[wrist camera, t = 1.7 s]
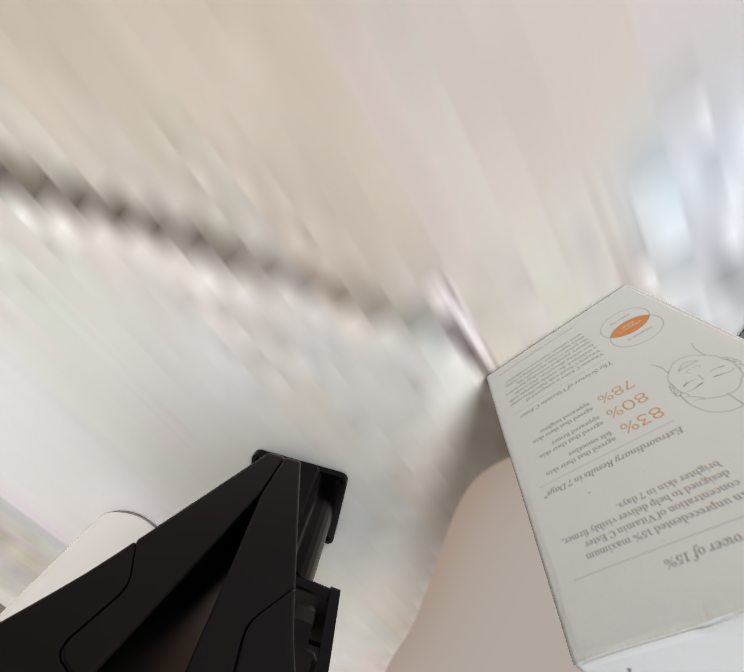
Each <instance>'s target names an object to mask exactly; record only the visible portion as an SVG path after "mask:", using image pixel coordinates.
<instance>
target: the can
mask: <svg viewBox="0 0 744 672" xmlns="http://www.w3.org/2000/svg"><path fill="white" fill-rule="evenodd" d="M154 528H156V526H155V525H154V524H153V523H152V522H150V521H149V520H147V519H146V518H144V517H142V516H140V515H138V514H136V513H132V512H128V511H113V512H109V513H105V514H103V515H101V516H100V517H99V518H98V519H97V520H96V521H95V522H94V523H92V524H91V525H90V526H89V527H88V528H87V529H86V530H85V531H84V532H83V533H82V534H81V535H80V536H79V537H78V538H77V539H76V540H75V541H74V542H73V543H72V544H71V545H70V546H69V547H68V548H67V549H66V550H65V551H64V552H63V553H62V554H61V555H60V556H59V557H58V558H57V559H56V560H55V561H54V562H53V563H51V564H50V565H49V566H48V567H47V568H46V569H45V570H44V571H43V572H42V573H41V574H40V575H39V576H38V577H37V578H36V579H35V580H34V581H33V582H32V583H31V584H30V585H29V586H28V587H27V588H26V589H25V590H24V591H23V592H22V593H21V594H20V595H19V596H18V597H17V598H16V599H15V600H14V601H13V602H12V603H11V604H10V605H9V606H8V607H7V608H6V609H5V610H4V611H3V612H2V613H1V614H0V622H1V621H3V620H4V619H6V618H8V617H10V616H12V615H13V614H15V613H17V612H19V611H21V610H22V609H24V608H26V607H28V606H29V605H31V604H33V603H35V602H37V601H38V600H40V599H42V598H44V597H45V596H47V595H49V594H51V593H52V592H54V591H56V590H58V589H59V588H61V587H63V586H64V585H66V584H68V583H70V582H71V581H73V580H75V579H76V578H78V577H80V576H82V575H83V574H85V573H87V572H88V571H90V570H91V569H93V568H94V567H96V566H98V565H99V564H101V563H102V562H104V561H105V560H107V559H109V558H110V557H112V556H113V555H115V554H116V553H118V552H119V551H121V550H122V549H124V548H126V547H127V546H129V545H130V544H132V543H133V542H134V543H136V542H137V540H138V539H139V538H141V537H142V536H144V535H145V534H147V533H148V532H150V531H151V530H153V529H154Z"/></svg>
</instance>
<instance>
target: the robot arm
mask: <svg viewBox="0 0 744 672" xmlns="http://www.w3.org/2000/svg"><path fill="white" fill-rule="evenodd" d="M259 457H261V458H259ZM339 480H341V481H339ZM347 481H348V477H347V475H345V474H344V473H342V472H339V471H335V470H331V469H328V468H324V467H321V466H317V465H314V464H310V463H307V462H303V461H299V460H296V459H292V458H289V457H285V456H282V455H278V454H275V453H271V452H267V451H264V450H257V451H256V452H255V453H254V455H253V456H252V463H251V465H250V466H248V467H247V468H245V469H243V470H242V471H240V472H239V473H237V474H236V475H234V476H233V477H231V478H230V479H228V480H227V481H225V482H224V483H222V484H221V485H219V486H218V487H216V488H215V489H213V490H212V491H210V492H209V493H207V494H206V495H204V496H203V497H201V498H200V499H198V500H197V501H195V502H194V503H192V504H191V505H189V506H188V507H186V508H185V509H183V510H182V511H180V512H179V513H177V514H176V515H174V516H173V517H171V518H170V519H168V520H167V521H165V522H164V523H162V524H160V525H159V526H157V527H156V528H154V529H153V530H151V531H150V532H148V533H147V534H145V535H144V536H142V537H141V538H139V539H138V540H137V542H136V543H134V542H133V543H132V544H130V545H129V546H127V547H126V548H124V549H122V550H121V551H119V552H118V553H116V554H115V555H113V556H112V557H110V558H109V559H107V560H105V561H104V562H102V563H101V564H99V565H98V566H96V567H94V568H93V569H91V570H90V571H88V572H87V573H85V574H83V575H82V576H80V577H78V578H76V579H75V580H73V581H71V582H70V583H68V584H66V585H64V586H63V587H61V588H59V589H58V590H56V591H54V592H52V593H51V594H49V595H47V596H45V597H44V598H42V599H40V600H38V601H37V602H35V603H33V604H31V605H29V606H28V607H26V608H24V609H22V610H21V611H19V612H17V613H15V614H13V615H12V616H10V617H8V618H6V619H4V620H3V621H1V622H0V672H328V670H329V664H330V658H331V651H332V644H333V637H334V631H335V624H336V617H337V610H338V604H339V597H340V590H339V589H336V588H334V587H330V588H328V587H326V586H323V585H321V584H318V583H316V582H313V579H314V576H315V573H316V570H317V566H318V563H319V560H320V556H321V553H322V550H323V546H324V543H327V544H329V543H332V541H333V539H334V535H335V531H336V527H337V523H338V519H339V515H340V510H341V506H342V502H343V498H344V494H345V490H346V486H347Z"/></svg>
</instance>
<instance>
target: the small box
mask: <svg viewBox="0 0 744 672" xmlns="http://www.w3.org/2000/svg"><path fill="white" fill-rule="evenodd" d="M487 381H488V385H489V388H490V392H491V395H492V398H493V401H494V405H495V409H496V412H497V416H498V419H499V423H500V426H501V429H502V433H503V436H504V439H505V442H506V446H507V449H508V452H509V455H510V458H511V462H512V465H513V468H514V471H515V474H516V477H517V481H518V484H519V487H520V490H521V493H522V497H523V500H524V503H525V506H526V510H527V513H528V516H529V520H530V523H531V526H532V530H533V533H534V536H535V540H536V543H537V546H538V550H539V553H540V556H541V560H542V563H543V566H544V570H545V573H546V576H547V579H548V583H549V586H550V589H551V592H552V596H553V599H554V603H555V606H556V609H557V612H558V616H559V619H560V622H561V625H562V629H563V632H564V635H565V638H566V642H567V645H568V648H569V652H570V655H571V658H572V661H573V663H574V665H576V667H578V668H579V669H580V670H581V671H582V672H744V339H743V338H741V337H738V336H736V335H734V334H732V333H730V332H728V331H726V330H724V329H722V328H720V327H718V326H716V325H714V324H712V323H710V322H708V321H705V320H703V319H701V318H699V317H696V316H694V315H692V314H690V313H688V312H686V311H684V310H682V309H680V308H678V307H675V306H673V305H671V304H669V303H667V302H665V301H662V300H660V299H658V298H656V297H654V296H652V295H649V294H647V293H645V292H643V291H641V290H638V289H636V288H634V287H632V286H629V285H625V286H623V287H621V288H620V289H618V290H617V291H615V292H614V293H612V294H611V295H609V296H608V297H606V298H605V299H603V300H602V301H600V302H599V303H597V304H596V305H594V306H593V307H591V308H589V309H588V310H586V311H585V312H583V313H582V314H580V315H579V316H577V317H576V318H574V319H573V320H571V321H570V322H568V323H567V324H565V325H564V326H562V327H561V328H559V329H558V330H556V331H555V332H553V333H551V334H550V335H548V336H547V337H545V338H544V339H542V340H541V341H539V342H538V343H536V344H535V345H533V346H532V347H530V348H529V349H527V350H526V351H525V352H523V353H522V354H520V355H519V356H517V357H516V358H514V359H513V360H511V361H510V362H508V363H506V364H505V365H503V366H502V367H500V368H499V369H497V370H496V371H494V372H493V373H491V374H490V375H488V376H487Z"/></svg>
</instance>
